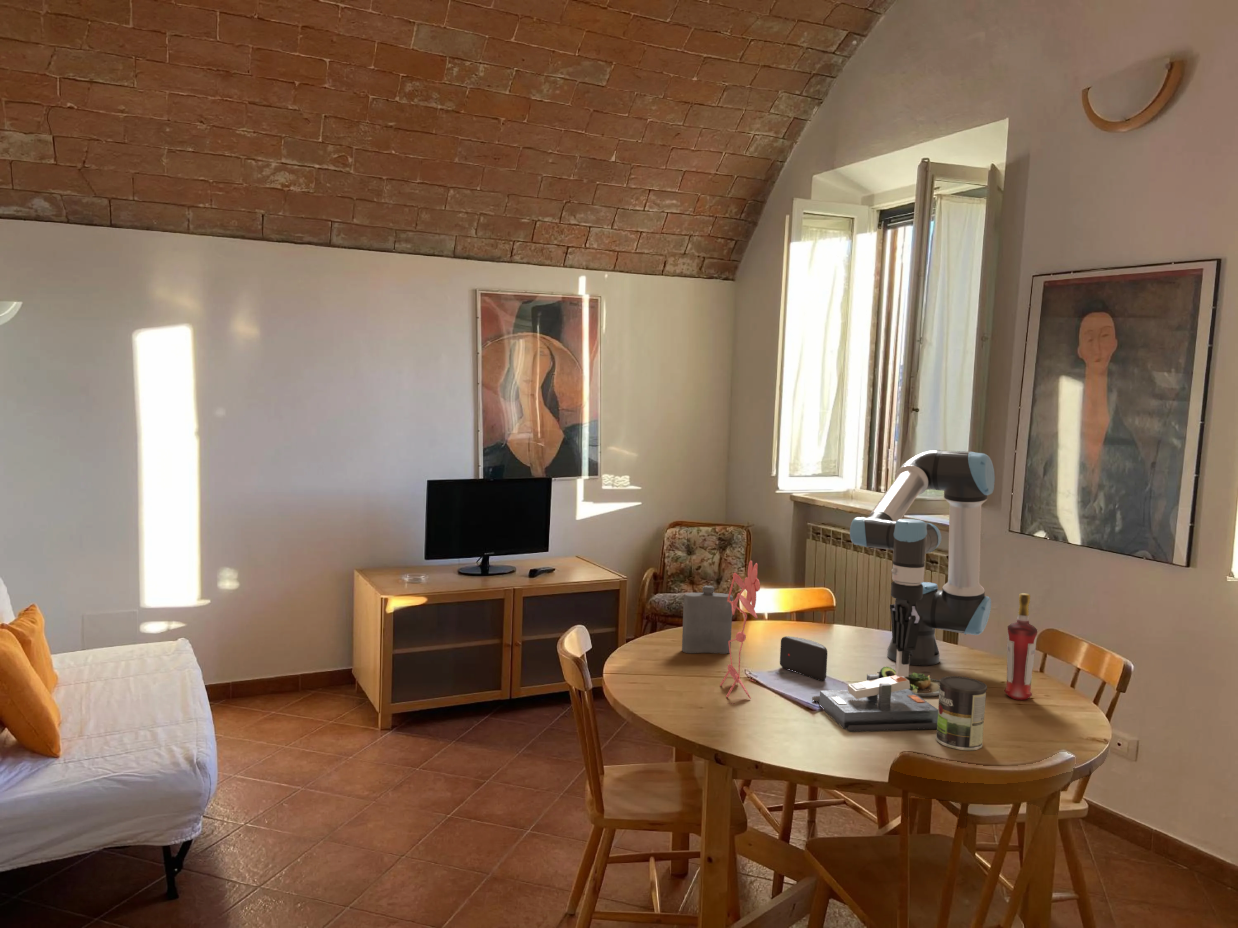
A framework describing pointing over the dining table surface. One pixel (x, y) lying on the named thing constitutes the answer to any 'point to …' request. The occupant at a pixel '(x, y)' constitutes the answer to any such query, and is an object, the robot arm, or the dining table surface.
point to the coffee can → (961, 713)
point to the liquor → (1020, 653)
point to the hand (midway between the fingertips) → (901, 675)
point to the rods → (887, 725)
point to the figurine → (751, 587)
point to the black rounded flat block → (804, 657)
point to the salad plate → (915, 682)
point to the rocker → (877, 686)
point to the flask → (707, 622)
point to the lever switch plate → (877, 707)
